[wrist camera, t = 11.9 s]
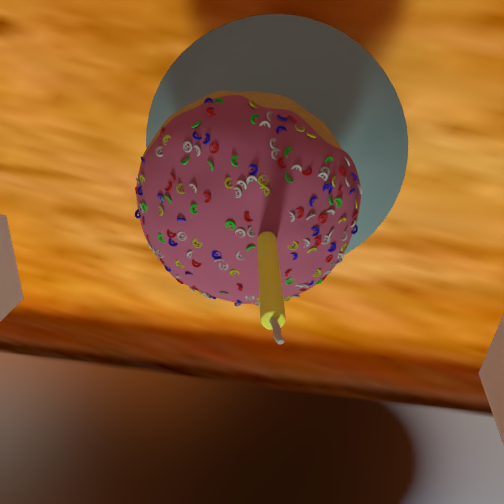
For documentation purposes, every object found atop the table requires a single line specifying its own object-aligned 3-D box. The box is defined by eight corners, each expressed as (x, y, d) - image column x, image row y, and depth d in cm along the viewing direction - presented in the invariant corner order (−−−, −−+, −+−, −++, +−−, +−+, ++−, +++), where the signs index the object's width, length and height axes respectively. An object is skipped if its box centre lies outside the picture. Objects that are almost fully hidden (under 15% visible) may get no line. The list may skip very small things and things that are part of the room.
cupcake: (368, 78, 19) (408, 185, 9) (341, 256, 24) (348, 467, 13) (165, 66, 20) (-5, 150, 10) (175, 239, 25) (61, 423, 14)
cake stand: (409, 16, 26) (440, 28, 18) (367, 216, 32) (377, 286, 24) (192, -3, 27) (140, 2, 19) (191, 194, 33) (151, 254, 25)
